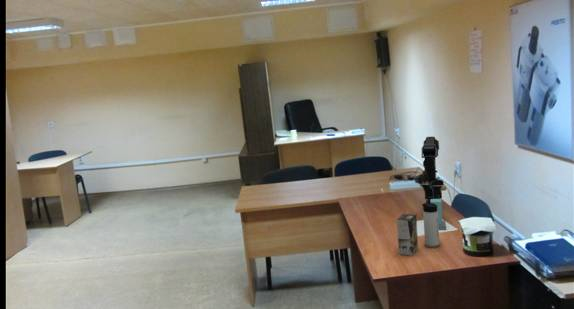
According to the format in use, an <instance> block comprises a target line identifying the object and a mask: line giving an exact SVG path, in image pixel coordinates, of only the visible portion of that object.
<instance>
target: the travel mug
mask: <svg viewBox="0 0 574 309" xmlns="http://www.w3.org/2000/svg"><path fill="white" fill-rule="evenodd" d="M421 205H422V212H423V214H422V215H423V220H424V234H425V235H424V245H425V247H427V248H430V249H433V248H435V249H436V248H438V247H439V245H440V233H439V227H438V209H437V205H435V204H433V203H426V202H423V203H422V204H421Z"/></svg>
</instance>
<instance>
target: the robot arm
mask: <svg viewBox="0 0 574 309" xmlns="http://www.w3.org/2000/svg"><path fill="white" fill-rule="evenodd" d="M439 150H440V142H439V140H438V139H436V137H435V136H427V137H425V140H424V141H423V145H422V147H421V159H424V160H423V162H422V166H423V168H424V170H422V173H420V174H418V175H416V176H414V177H413V180H414V183H415V184H418V185H419V186H420V187H421V188H422V189H423V192H424V199H425V200H426V201H425V203H431V202H430V199H441V200H442V198H443V192H442V188H443V186H444V185H445V184H444V181H443V180H442V179H438V178H437V173H438V170H437V169H436V168H437V166H436V165H437V164H436V158H437V157H439Z"/></svg>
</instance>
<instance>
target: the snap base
mask: <svg viewBox="0 0 574 309" xmlns="http://www.w3.org/2000/svg"><path fill="white" fill-rule="evenodd" d="M445 221H446V220H444V221H442V222H443V225H438V227H439V230H446V224H445Z"/></svg>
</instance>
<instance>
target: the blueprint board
mask: <svg viewBox="0 0 574 309" xmlns="http://www.w3.org/2000/svg"><path fill="white" fill-rule="evenodd" d="M416 221H417V237H422V236H423V237H424V236H425V234H424V219H421V220H416ZM442 221H445V224H446V230H439V234H440V233H446V232H453V231H458V230H459V229H458V228H456V227H455V226H453V225H452V224H450V223H449V222H447V221H446V220H444V219H442Z"/></svg>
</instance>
